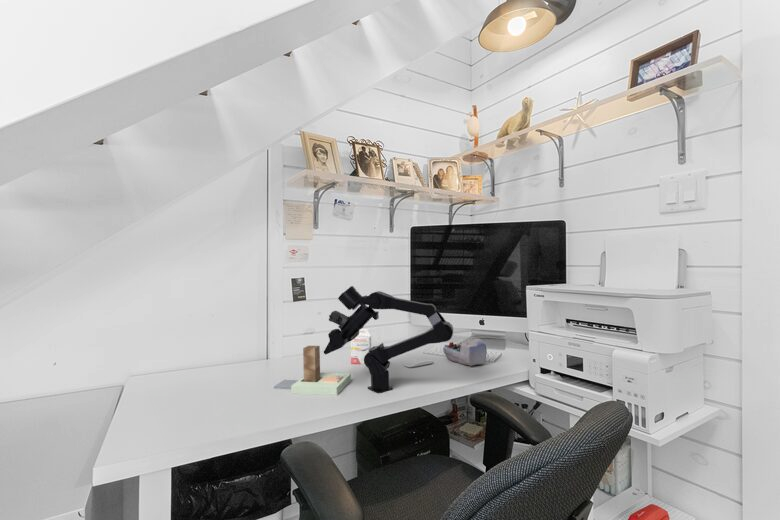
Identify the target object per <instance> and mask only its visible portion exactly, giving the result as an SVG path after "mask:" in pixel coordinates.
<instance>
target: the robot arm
mask: <svg viewBox="0 0 780 520" xmlns="http://www.w3.org/2000/svg"><path fill="white" fill-rule="evenodd" d="M337 300H338V301H340V303H341V304H342V305H343V306H344V307H345V308H346V309H347V310H348V311H350V310H352V311H354V312H353V313H352V314H350V316H347V315H345V314H343V313H342V312H340V311H338V310H333V311H331V312H330V314H328V316H329V318H328V321H329V322H330V323H334V324H335V325H338V328H335V329H331V331H330V332H329V333H328V334H327V335H328V339H329V341H328V343H327V345H326V347H325V348H324V350H323V354H324V355H325V356H326V355H329V354H330V353H332V352H334V351H337V350H339V349H342V348H343V347H344V346H345V345H346V344H347V343H349V342H350V343H351V341H352V340H353V339H355V338H356V337H357V336H358V335H359V333H360V331H359V330H360V329H364V327H365V325H366V324H367V323H369V321H370V320H371V319H373V320H374V321H376V320H379V312H380V311H376V310H396V311H401V312H406V313H413V314H415V315H416V314H417V315H423V316H426V318H427V320H428V321H429V323H430V325H431V328H430V329H427V330H426V331H424V332H422V333H420V334H417V335H415V336H411V337H410V338H407V339H404V340H402V341H399V342H397V343H393V344H391V345H389V346H387V345H386V346H385V344H384V342H382V343H380V344H378V345H375V346H374V345H373V346H371V349H370V350H369V352H368V353H367V354H366V355H365V357H364V364H363V365H365V366H366V368H367V369H368V372H369V374H370V385H369V386H367V389H368V390H370V391H372V392H375V393H377V394H379V393H384V392H386V391H387V392H388V391H391V390H393V389H394V388H393V387H392V386H390V372H389V370H388V369H389V368H390V365H391V362H390V360H391V359H393V358H395V357H398V356H400V355H403V354H406V353H408V352H410V351H413V350H416V349H418V348H422V347H424V346H427V345H430V344H440V343H444V342H445V343H446V342H448V341H450V340H451V339H452V337H453V336H454V327H453V325H452V323H450V322H449V321H446V319H445V318H444V316H443V315H442V314H441V313H440V311H438V309H437V308H436V306H435V305H434V304H433V303H424V302H419V301H415V300H410V299H409V300H408V299H403V298H398V297H394V296H393V295H391V294H388V293H386V292H384V291H380V290H378V291H377V290H376V291H374V292H371V293H370V294H369V295H363V296H362V295H361V294H360V293H359V291H358V290H357V289H356V288H355V287H354V286H353V285H351V286H349V288H347V289H346V290H345V291H343V292H342V293H341V294H340V295H339V296H338V298H337Z"/></svg>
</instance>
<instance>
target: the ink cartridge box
mask: <svg viewBox="0 0 780 520" xmlns="http://www.w3.org/2000/svg"><path fill="white" fill-rule="evenodd" d="M371 330H372V329H371V328H362V329H360V330H359V335H358V336H357V337H356V338H355V339H353V340H352V341H350V364H351V365H365V364H364V357H365V355H366V354H367V353H368V352H369V350H370V349H371V348H372V334H371V332H372V331H371ZM361 331H362V332H361Z"/></svg>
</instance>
